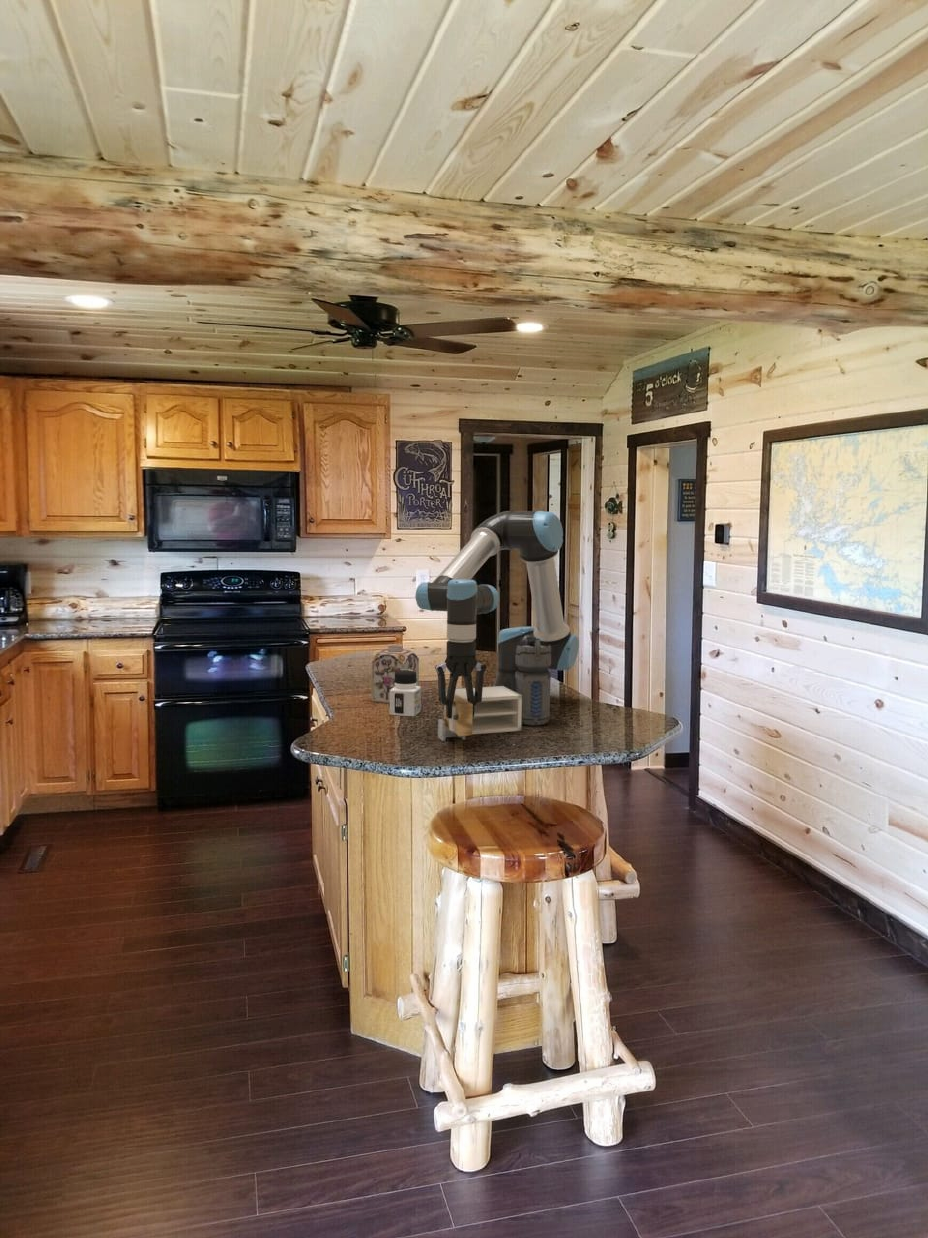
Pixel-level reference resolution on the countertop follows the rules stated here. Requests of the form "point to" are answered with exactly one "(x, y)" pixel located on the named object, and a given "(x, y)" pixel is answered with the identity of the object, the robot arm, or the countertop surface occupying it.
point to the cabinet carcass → (495, 710)
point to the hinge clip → (445, 731)
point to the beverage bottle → (533, 681)
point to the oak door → (462, 716)
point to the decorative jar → (391, 670)
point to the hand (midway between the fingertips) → (459, 729)
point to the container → (405, 694)
